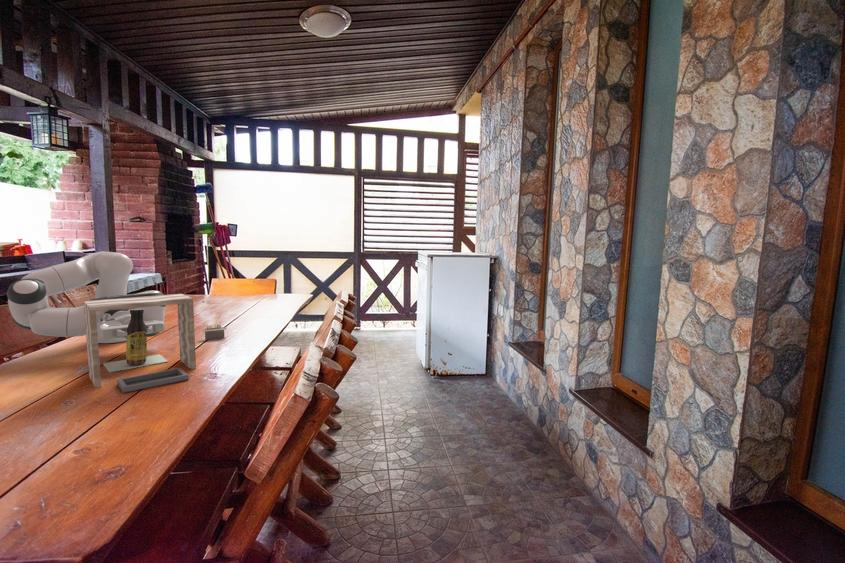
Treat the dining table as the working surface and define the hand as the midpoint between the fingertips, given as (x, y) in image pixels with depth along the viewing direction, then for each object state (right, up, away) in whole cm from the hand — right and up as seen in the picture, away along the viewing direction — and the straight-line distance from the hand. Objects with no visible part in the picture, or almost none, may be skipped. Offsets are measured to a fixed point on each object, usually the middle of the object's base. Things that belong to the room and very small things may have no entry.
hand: (137, 333), depth 155 cm
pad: (-3, -12, +4) cm, 13 cm away
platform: (+8, -8, +42) cm, 43 cm away
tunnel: (+6, -13, -6) cm, 15 cm away
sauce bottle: (-1, -11, +2) cm, 11 cm away
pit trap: (+15, -14, -15) cm, 26 cm away
